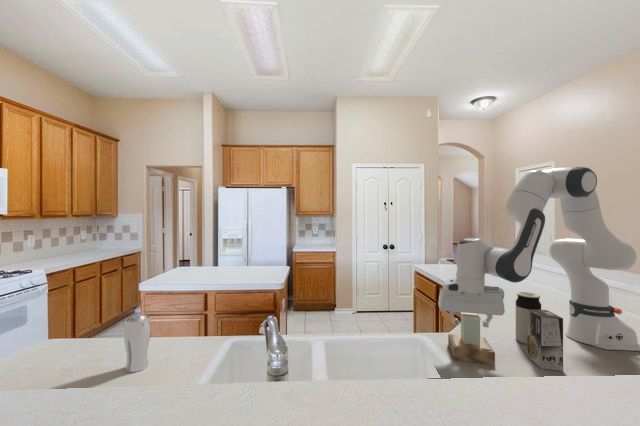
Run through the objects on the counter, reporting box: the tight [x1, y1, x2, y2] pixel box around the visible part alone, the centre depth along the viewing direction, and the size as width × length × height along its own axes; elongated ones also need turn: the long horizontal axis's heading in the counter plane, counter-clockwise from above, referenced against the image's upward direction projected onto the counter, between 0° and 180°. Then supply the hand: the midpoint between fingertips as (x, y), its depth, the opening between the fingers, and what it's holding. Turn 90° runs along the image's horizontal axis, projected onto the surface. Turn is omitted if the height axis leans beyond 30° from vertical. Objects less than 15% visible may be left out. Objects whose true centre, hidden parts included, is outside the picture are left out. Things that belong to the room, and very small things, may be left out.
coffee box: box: [527, 309, 564, 372], centre depth 95 cm, size 9×6×16 cm
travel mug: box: [515, 291, 542, 345], centre depth 112 cm, size 8×8×18 cm
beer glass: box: [123, 314, 152, 373], centre depth 90 cm, size 7×7×15 cm
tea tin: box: [459, 312, 482, 345], centre depth 101 cm, size 5×5×9 cm
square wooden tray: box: [447, 333, 496, 366], centre depth 101 cm, size 12×12×4 cm
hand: (470, 325), depth 101 cm, fingers open, 8 cm apart
